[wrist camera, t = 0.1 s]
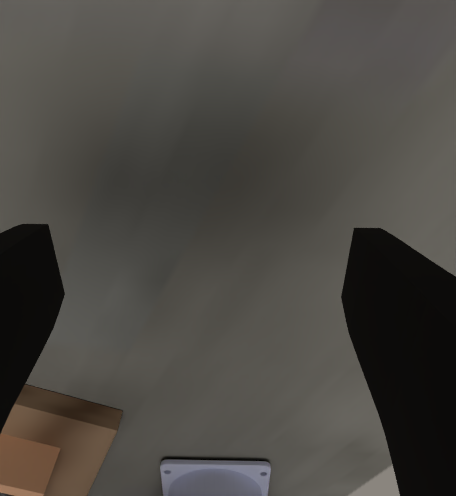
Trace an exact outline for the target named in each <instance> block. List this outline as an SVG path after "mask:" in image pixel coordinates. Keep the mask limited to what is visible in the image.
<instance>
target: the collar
mask: <svg viewBox="0 0 456 496" xmlns="http://www.w3.org/2000/svg"><path fill="white" fill-rule="evenodd" d="M60 449H61V448H58V447H54V446H50V445H46V444H42V443H38V442H34V441H29V440H25V439H21V438H17V437H13V436H9V435H5V434H0V493H5V494H9V495H14V496H43V495H44V493H45V490H46V487H47V484H48V482H49V479H50V476H51V473H52V471H53V468H54V465H55V462H56V460H57V457H58V454H59V452H60Z"/></svg>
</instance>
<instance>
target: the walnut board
mask: <svg viewBox="0 0 456 496" xmlns="http://www.w3.org/2000/svg"><path fill="white" fill-rule="evenodd" d="M121 415H122V411H121V410H118V409H114V408H110V407H107V406H103V405H99V404H96V403H92V402H88V401H85V400H81V399H77V398H73V397H70V396H66V395H62V394H59V393H55V392H51V391H48V390H44V389H40V388H37V387H33V386H29V385H26V384H25V385H24V387H23V389H22V391H21V393H20V394H19V396H18V398H17V400H16V402H15V404H14V406H13V408H12V410H11V412H10V414H9V416H8V418H7V421H6V423H5V425H4V427H3V429H2V432H1V434H5V435H9V436H13V437H17V438H21V439H25V440H29V441H34V442H38V443H42V444H46V445H50V446H54V447H58V448H61V449H60V452H59V454H58V457H57V460H56V462H55V465H54V468H53V471H52V473H51V476H50V479H49V482H48V484H47V487H46V490H45V493H44V495H43V496H87V495H88V493H89V490H90V488H91V486H92V484H93V482H94V480H95V478H96V476H97V473H98V471H99V469H100V467H101V465H102V463H103V461H104V459H105V456H106V454H107V452H108V450H109V448H110V446H111V444H112V441H113V439H114V437H115V435H116V433H117V431H118V427H119V423H120V419H121Z"/></svg>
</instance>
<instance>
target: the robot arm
mask: <svg viewBox="0 0 456 496" xmlns="http://www.w3.org/2000/svg"><path fill="white" fill-rule="evenodd" d="M64 295H65V293H64V289H63V284H62V280H61V276H60V272H59V268H58V263H57V259H56V255H55V251H54V246H53V242H52V238H51V234H50V230H49V225H48V224H21V225H18V226H16V227H13V228H11V229H9V230H6V231H4V232H2V233H0V434H1V432H2V429H3V427H4V425H5V423H6V421H7V418H8V416H9V414H10V412H11V410H12V408H13V406H14V404H15V402H16V400H17V398H18V396H19V394H20V393H21V391H22V389H23V387H24V385H25V383H26V381H27V379H28V377H29V375H30V373H31V371H32V369H33V368H34V366H35V364H36V362H37V360H38V358H39V356H40V354H41V352H42V350H43V348H44V346H45V344H46V342H47V340H48V338H49V336H50V334H51V332H52V330H53V328H54V325H55V322H56V319H57V316H58V314H59V310H60V307H61V304H62V301H63V298H64ZM341 298H342V303H343V308H344V313H345V318H346V323H347V327H348V331H349V335H350V338H351V340H352V343H353V346H354V349H355V352H356V354H357V357H358V360H359V363H360V365H361V368H362V371H363V373H364V376H365V379H366V381H367V384H368V387H369V390H370V392H371V395H372V398H373V400H374V403H375V406H376V408H377V411H378V414H379V417H380V420H381V423H382V426H383V429H384V433H385V436H386V440H387V444H388V448H389V452H390V456H391V460H392V464H393V468H394V472H395V476H396V480H397V484H398V488H399V493H400V496H456V277H455V276H454V275H452V274H451V273H449V272H447V271H446V270H444V269H443V268H441V267H440V266H438V265H437V264H435V263H434V262H432V261H431V260H429V259H428V258H426V257H425V256H423V255H422V254H420V253H419V252H417V251H416V250H414V249H413V248H411V247H410V246H408V245H407V244H405V243H404V242H402V241H401V240H399V239H398V238H396V237H395V236H393V235H392V234H390V233H388V232H387V231H385V230H383V229H381V228H354V231H353V236H352V242H351V247H350V253H349V258H348V264H347V269H346V274H345V280H344V285H343V291H342V296H341ZM160 471H161V480H162V490H163V496H268V488H269V480H270V473H271V465H270V463H268V462H266V461H226V460H175V459H166V460H163V461H162V462H161V465H160Z"/></svg>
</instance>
